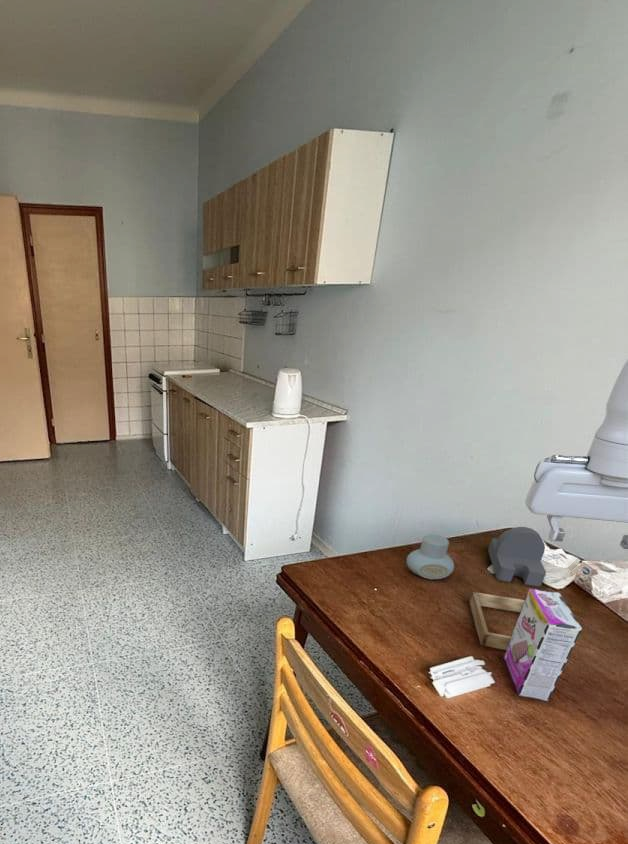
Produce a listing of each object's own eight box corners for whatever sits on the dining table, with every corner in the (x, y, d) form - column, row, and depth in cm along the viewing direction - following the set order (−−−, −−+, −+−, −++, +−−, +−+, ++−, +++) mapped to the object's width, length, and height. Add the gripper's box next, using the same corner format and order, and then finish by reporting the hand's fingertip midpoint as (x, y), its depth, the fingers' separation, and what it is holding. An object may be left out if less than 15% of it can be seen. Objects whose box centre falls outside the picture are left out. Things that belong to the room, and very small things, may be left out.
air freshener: (446, 567, 125) (455, 533, 120) (454, 583, 118) (465, 548, 113) (401, 563, 127) (409, 530, 122) (407, 579, 120) (416, 544, 115)
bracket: (527, 554, 130) (540, 518, 125) (542, 587, 116) (557, 548, 110) (487, 548, 134) (498, 513, 128) (496, 579, 119) (509, 541, 114)
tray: (527, 612, 107) (531, 601, 105) (547, 658, 93) (553, 646, 92) (469, 602, 111) (472, 591, 109) (480, 645, 97) (484, 633, 96)
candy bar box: (500, 657, 94) (528, 587, 86) (530, 662, 92) (560, 591, 84) (516, 696, 84) (548, 622, 77) (549, 703, 83) (585, 628, 75)
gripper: (546, 459, 69) (518, 543, 76) (730, 471, 62) (682, 562, 69) (535, 448, 75) (509, 527, 81) (704, 457, 68) (661, 543, 74)
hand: (590, 543), depth 75 cm, fingers open, 8 cm apart
